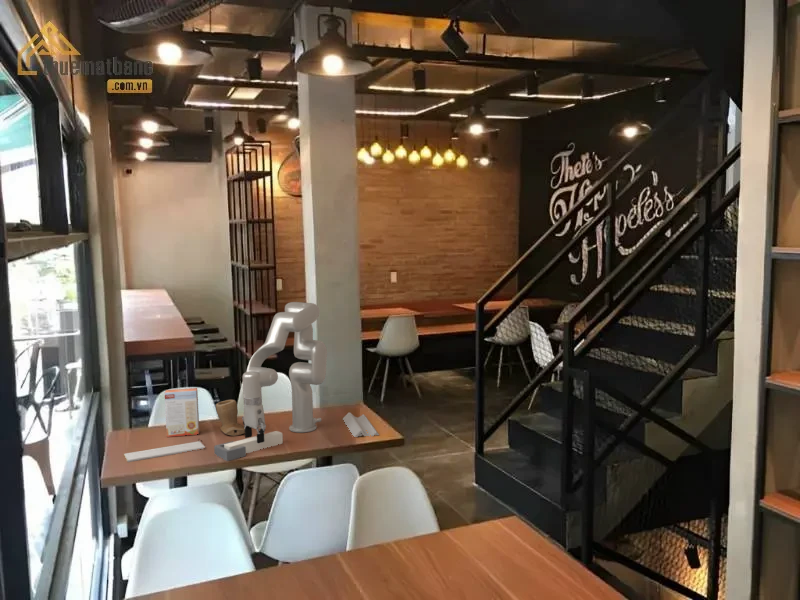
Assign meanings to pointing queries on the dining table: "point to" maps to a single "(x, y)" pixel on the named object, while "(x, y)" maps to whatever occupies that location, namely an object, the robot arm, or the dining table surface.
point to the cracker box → (181, 412)
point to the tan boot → (229, 417)
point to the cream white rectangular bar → (252, 444)
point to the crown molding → (359, 425)
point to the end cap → (229, 452)
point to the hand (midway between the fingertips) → (254, 439)
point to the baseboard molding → (163, 451)
